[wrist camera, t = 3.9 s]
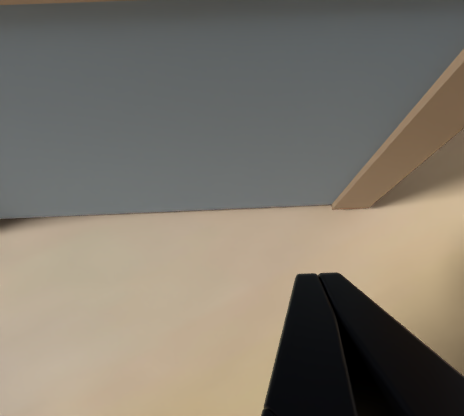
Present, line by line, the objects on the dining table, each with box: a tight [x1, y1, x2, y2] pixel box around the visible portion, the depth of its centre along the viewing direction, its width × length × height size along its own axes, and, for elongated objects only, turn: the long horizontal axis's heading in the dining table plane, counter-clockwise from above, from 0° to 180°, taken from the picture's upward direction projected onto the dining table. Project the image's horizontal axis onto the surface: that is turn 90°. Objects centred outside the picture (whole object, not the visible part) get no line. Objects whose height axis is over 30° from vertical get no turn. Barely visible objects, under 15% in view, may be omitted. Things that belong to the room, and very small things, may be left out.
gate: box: [0, 0, 464, 219], centre depth 10 cm, size 14×2×12 cm, turn 93°
